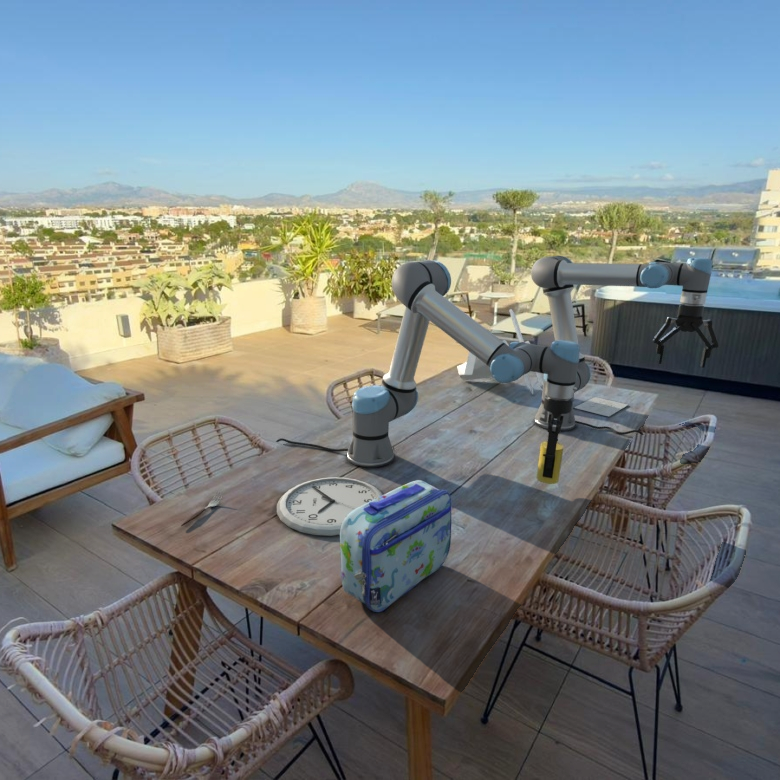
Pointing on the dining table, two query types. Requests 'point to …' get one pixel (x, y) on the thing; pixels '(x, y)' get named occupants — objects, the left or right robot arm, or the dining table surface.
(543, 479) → the can
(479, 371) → the white plastic object
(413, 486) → the lunch box
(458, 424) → the dining table surface
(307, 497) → the wall clock
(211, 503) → the fork
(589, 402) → the invitation card
